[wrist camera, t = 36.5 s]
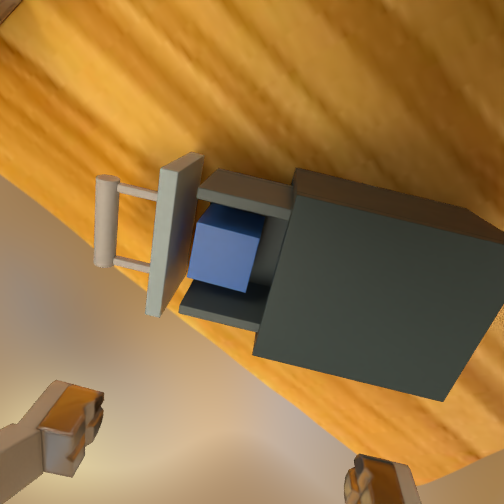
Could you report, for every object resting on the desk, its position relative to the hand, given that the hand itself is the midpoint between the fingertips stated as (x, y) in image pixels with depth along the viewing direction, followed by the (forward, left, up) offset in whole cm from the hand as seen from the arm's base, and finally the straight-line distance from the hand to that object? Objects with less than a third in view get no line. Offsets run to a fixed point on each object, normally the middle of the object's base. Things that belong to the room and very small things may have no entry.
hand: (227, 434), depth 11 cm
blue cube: (-1, -3, -20) cm, 20 cm away
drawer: (-1, -4, -21) cm, 22 cm away
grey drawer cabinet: (+7, +5, -22) cm, 24 cm away
